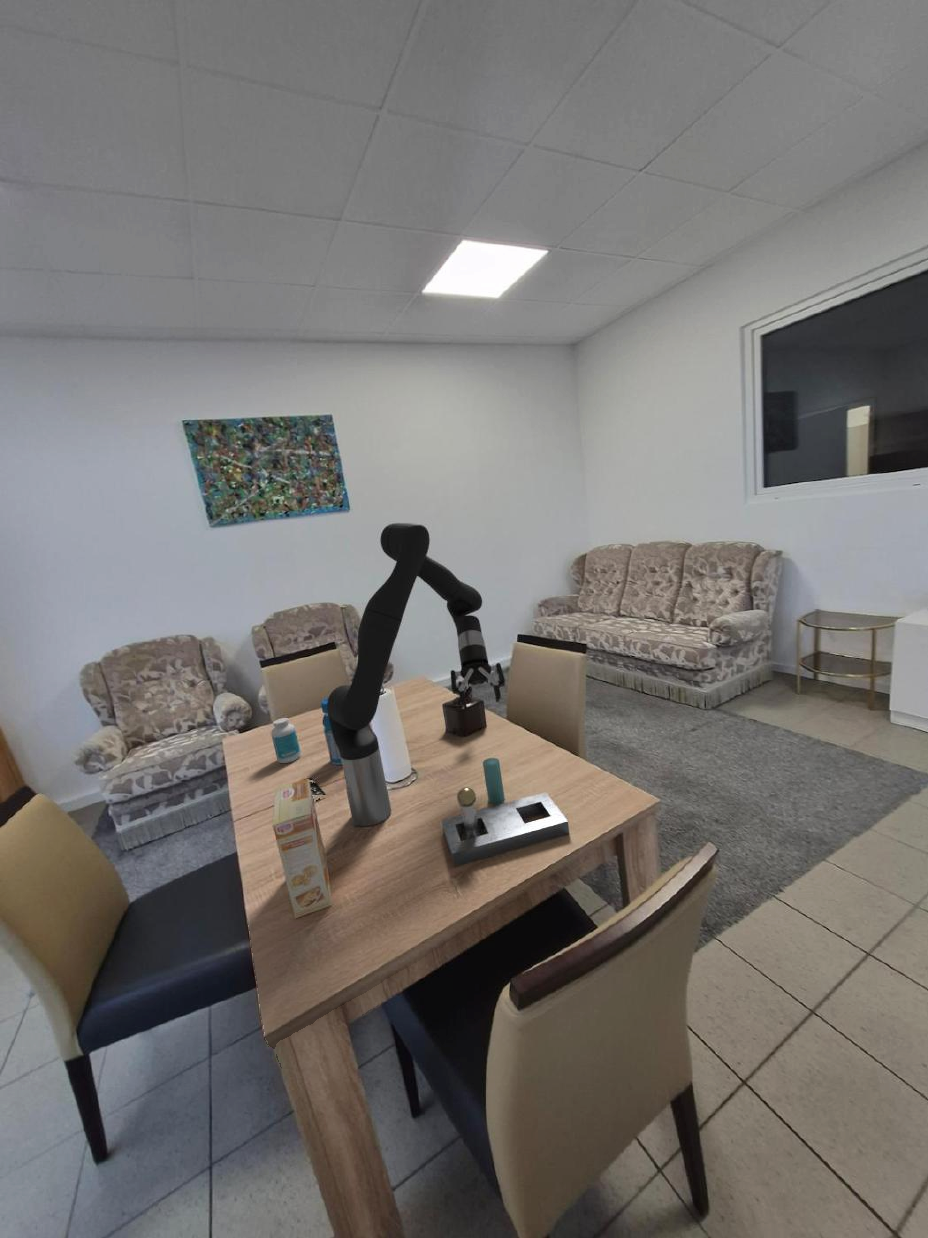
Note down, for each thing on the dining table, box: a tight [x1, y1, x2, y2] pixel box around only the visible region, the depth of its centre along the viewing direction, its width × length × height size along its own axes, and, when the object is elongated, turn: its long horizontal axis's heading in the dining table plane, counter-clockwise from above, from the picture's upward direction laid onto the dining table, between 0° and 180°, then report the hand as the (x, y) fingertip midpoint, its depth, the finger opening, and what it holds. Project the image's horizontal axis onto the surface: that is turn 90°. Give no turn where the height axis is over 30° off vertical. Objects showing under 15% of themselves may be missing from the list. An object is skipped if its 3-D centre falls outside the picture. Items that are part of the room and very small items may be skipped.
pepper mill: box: [441, 681, 488, 737], centre depth 157 cm, size 16×11×18 cm
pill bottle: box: [270, 717, 302, 764], centre depth 156 cm, size 8×7×14 cm
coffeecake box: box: [271, 778, 333, 920], centre depth 94 cm, size 15×7×20 cm, turn 20°
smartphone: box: [307, 777, 327, 802], centre depth 134 cm, size 7×1×15 cm
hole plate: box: [441, 786, 570, 868], centre depth 102 cm, size 25×12×12 cm, turn 103°
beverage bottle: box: [320, 697, 342, 766], centre depth 149 cm, size 8×8×20 cm
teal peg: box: [482, 757, 505, 805], centre depth 116 cm, size 4×4×10 cm
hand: (481, 703), depth 124 cm, fingers open, 8 cm apart
